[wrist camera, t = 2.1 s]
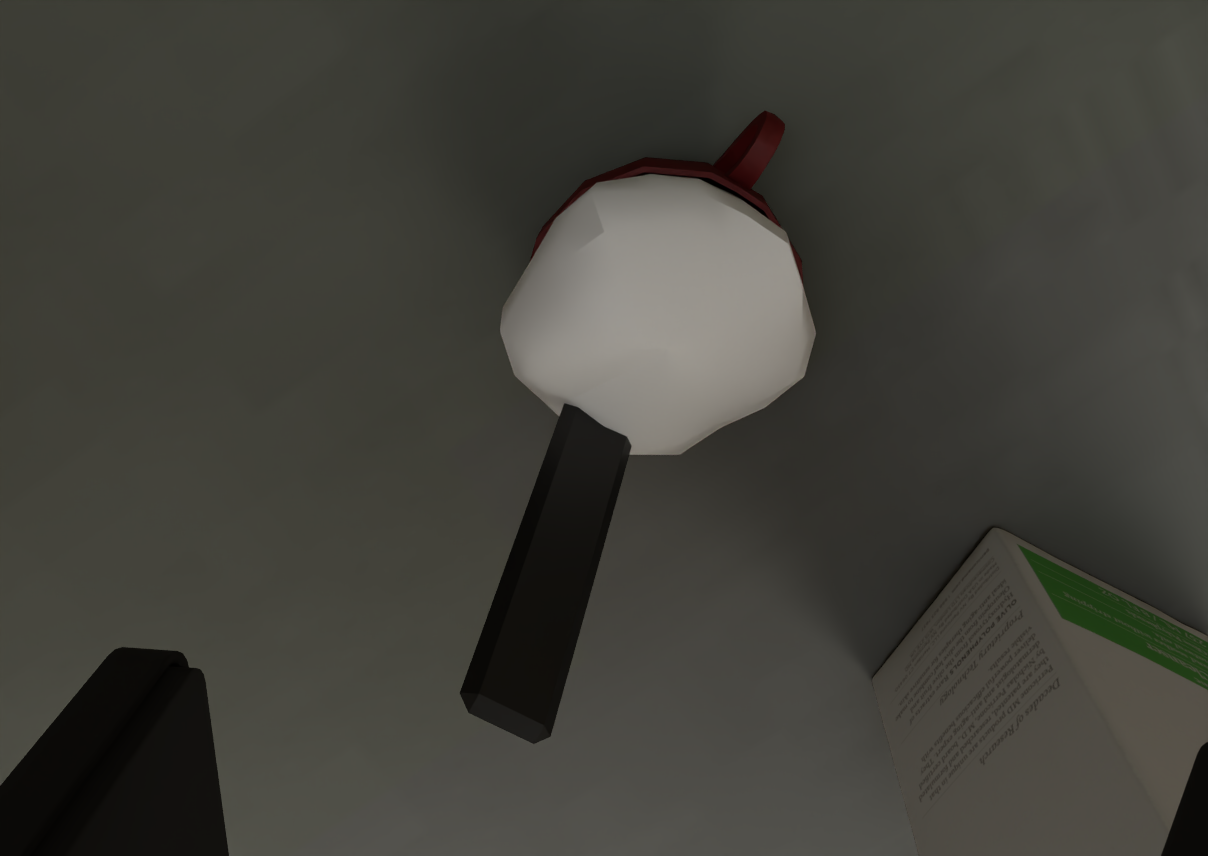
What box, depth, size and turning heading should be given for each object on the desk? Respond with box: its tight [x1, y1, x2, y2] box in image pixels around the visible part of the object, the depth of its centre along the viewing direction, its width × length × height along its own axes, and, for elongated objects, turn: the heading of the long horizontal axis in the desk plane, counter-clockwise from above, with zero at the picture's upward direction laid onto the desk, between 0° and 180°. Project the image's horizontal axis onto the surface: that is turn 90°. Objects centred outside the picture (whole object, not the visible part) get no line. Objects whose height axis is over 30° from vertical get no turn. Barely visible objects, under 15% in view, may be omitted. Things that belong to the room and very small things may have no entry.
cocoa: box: [460, 111, 816, 744], centre depth 20 cm, size 10×6×12 cm, turn 127°
